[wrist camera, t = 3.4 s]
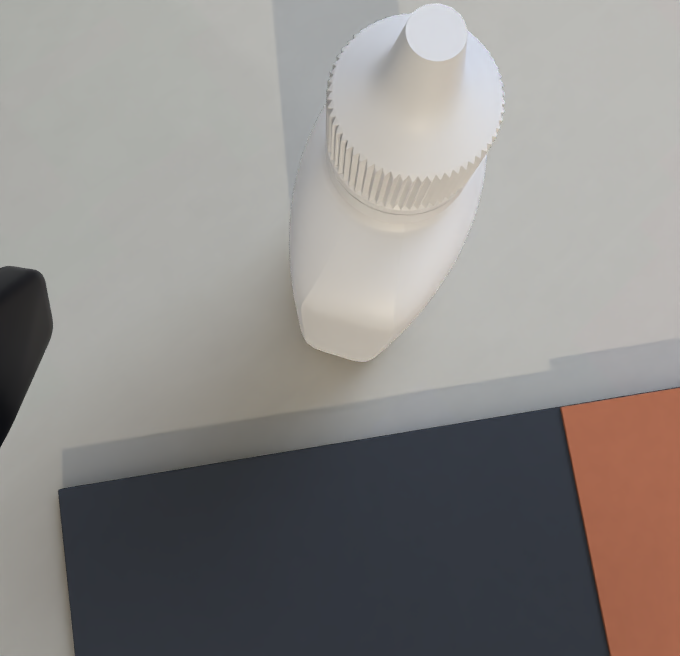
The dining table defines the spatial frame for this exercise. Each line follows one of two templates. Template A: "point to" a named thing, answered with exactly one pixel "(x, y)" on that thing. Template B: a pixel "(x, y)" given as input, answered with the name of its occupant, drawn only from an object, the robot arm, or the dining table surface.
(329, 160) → the eye dropper bottle
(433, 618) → the desk mat
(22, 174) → the dining table surface
